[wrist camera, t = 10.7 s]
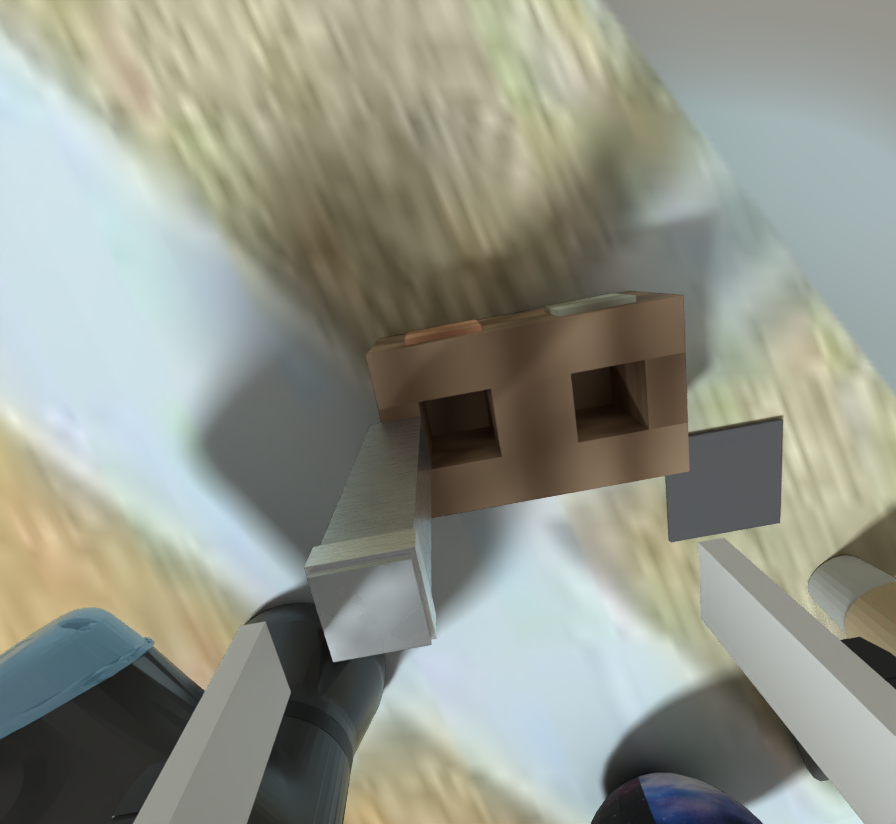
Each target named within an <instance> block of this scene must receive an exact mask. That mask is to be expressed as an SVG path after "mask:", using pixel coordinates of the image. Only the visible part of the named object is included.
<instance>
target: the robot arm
mask: <svg viewBox="0 0 896 824" xmlns="http://www.w3.org/2000/svg"><path fill="white" fill-rule="evenodd" d="M698 545H699V575H700V606H701V619H702V620H703V622H704V623H705V624H706V626H707V627H708V628H709V629H710V631H711V632H712V633H713V634H714V636H715V637H716V638H717V639H718V641H719V642H720V643H721V644H722V646H723V647H724V648H725V649H726V651H727V652H728V653H729V654H730V656H731V657H732V658H733V659H734V661H735V662H736V663H737V664H738V666H739V667H740V668H741V670H742V671H743V672H744V673H745V675H746V676H747V677H748V678H749V680H750V681H751V682H752V683H753V685H754V686H755V687H756V688H757V690H758V691H759V692H760V693H761V695H762V696H763V697H764V698H765V700H766V701H767V702H768V703H769V705H770V706H771V707H772V708H773V710H774V711H775V712H776V714H777V715H778V716H779V717H780V719H781V720H782V721H783V722H784V724H785V725H786V726H787V727H788V729H789V730H790V731H791V732H792V734H793V735H794V736H795V737H796V739H797V740H798V741H799V742H800V744H801V745H802V746H803V747H804V749H805V750H806V751H807V752H808V754H809V755H810V756H811V757H812V759H813V760H814V761H815V763H816V764H817V765H818V766H819V768H820V769H821V770H822V771H823V773H824V774H825V775H826V776H827V778H828V779H829V780H830V781H831V783H832V784H833V785H834V786H835V788H836V789H837V790H838V791H839V793H840V794H841V795H842V796H843V798H844V799H845V800H846V801H847V803H848V804H849V805H850V807H851V808H852V809H853V810H854V812H855V813H856V814H857V815H858V817H859V818H860V819H861V820H862V822H863V823H864V824H896V657H895V656H894V655H893V654H892V653H890V652H888V651H886V650H885V649H883V648H881V647H879V646H877V645H875V644H873V643H871V642H869V641H867V640H865V639H864V638H862V637H855V638H849V639H844V640H839V639H838V638H837V637H836V636H835V635H833V634H832V633H831V632H830V631H829V630H828V629H827V628H826V627H824V626H823V625H822V624H821V623H820V622H819V621H818V620H816V619H815V618H814V617H813V616H812V615H811V614H810V613H809V612H807V611H806V610H805V609H804V608H803V607H802V606H801V605H799V604H798V603H797V602H796V601H795V600H794V599H793V598H792V597H790V596H789V595H788V594H787V593H786V592H785V591H784V590H783V589H781V588H780V587H779V586H778V585H777V584H776V583H775V582H773V581H772V580H771V579H770V578H769V577H768V576H767V575H766V574H764V573H763V572H762V571H761V570H760V569H759V568H758V567H756V566H755V565H754V564H753V563H752V562H751V561H750V560H749V559H747V558H746V557H745V556H744V555H743V554H742V553H741V552H740V551H738V550H737V549H736V548H735V547H734V546H733V545H732V544H730V543H729V542H728V541H727V540H726V539H725V538H720V539H715V540H710V541H704V542H699V543H698ZM154 643H155V642H154V641H153V640H152V639H151V638H148V637H145V638H143V637H142V636H141V635H139V634H138V633H137V632H135V631H134V630H133V629H131V628H130V627H129V626H127V625H126V624H125V623H123V622H122V621H121V620H119V619H118V618H117V617H115V616H114V615H112V614H111V613H109V612H108V611H106V610H103V609H99V608H82V609H77V610H74V611H71V612H68V613H66V614H64V615H62V616H60V617H59V618H57V619H55V620H53V621H52V622H50V623H49V624H47V625H45V626H44V627H42V628H41V629H39V630H37V631H36V632H34V633H33V634H31V635H30V636H28V637H27V638H25V639H23V640H22V641H20V642H19V643H17V644H16V645H14V646H13V647H11V648H10V649H8V650H7V651H5V652H4V653H2V654H1V655H0V824H343V821H344V814H345V807H346V801H347V794H348V787H349V780H350V773H351V767H352V762H353V757H354V754H355V752H356V750H357V749H358V747H359V745H360V743H361V741H362V739H363V737H364V735H365V733H366V731H367V729H368V727H369V725H370V723H371V721H372V719H373V717H374V715H375V713H376V711H377V709H378V707H379V704H380V701H381V698H382V693H383V686H384V678H385V660H384V656H383V653H382V654H377V655H371V656H366V657H360V658H354V659H349V660H343V661H338V662H333V660H332V657H331V653H330V650H329V647H328V644H327V641H326V638H325V635H324V631H323V628H322V625H321V622H320V619H319V616H318V612H317V609H316V606H315V604H305V603H301V604H289V605H283V606H279V607H275V608H272V609H270V610H267V611H265V612H263V613H261V614H259V615H257V616H256V617H254V618H253V619H252V620H250V621H249V622H248V623H247V624H246V625H243V626H240V628H239V630H238V632H237V633H236V635H235V637H234V639H233V641H232V643H231V644H230V646H229V648H228V650H227V652H226V654H225V655H224V657H223V659H222V661H221V663H220V665H219V667H218V668H217V670H216V672H215V674H214V676H213V678H212V679H211V681H210V683H209V685H208V687H207V689H206V690H205V691H204V690H203V689H202V688H201V687H200V686H198V685H197V684H196V683H195V682H194V681H192V680H191V679H190V678H189V677H188V676H186V675H185V674H184V673H183V672H182V671H181V670H180V669H178V668H177V667H176V666H175V665H174V664H173V663H172V662H170V661H169V660H168V659H167V658H166V657H165V656H164V655H162V654H161V653H160V652H159V651H158V650H157V649H156V648H154V647H153V645H154Z"/></svg>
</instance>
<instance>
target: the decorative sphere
mask: <svg viewBox="0 0 896 824" xmlns="http://www.w3.org/2000/svg"><path fill="white" fill-rule="evenodd" d="M591 824H763V823H762V822H761V821H760V820H759V819H758V818H757V817H756V816H755V815H753V814H752V813H751V812H750V811H749V810H748V809H747V808H746V807H744V806H743V805H742V804H740V803H739V802H737V801H736V800H734V799H733V798H731V797H730V796H728V795H727V794H725V793H724V792H722V791H720V790H719V789H717V788H716V787H714V786H712V785H710V784H708V783H706V782H704V781H702V780H699V779H695V778H691V777H687V776H683V775H679V774H675V773H652V774H647V775H642V776H638V777H636V778H634V779H632V780H629V781H627V782H625V783H623V784H621V785H620V786H619V787H618V788H616V789H615V790H614V791H613V792H611V793H610V794H609V796H608V797H607V798H606V799H605V801H604V802H603V804H602V805H601V806H600V808H599V809H598V811H597V812H596V814H595V816H594V818H593V820H592V822H591Z"/></svg>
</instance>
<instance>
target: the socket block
mask: <svg viewBox="0 0 896 824" xmlns="http://www.w3.org/2000/svg"><path fill="white" fill-rule="evenodd" d="M365 356H366V360H367V364H368V368H369V373H370V377H371V381H372V385H373V389H374V393H375V398H376V402H377V406H378V410H379V414H380V419H381V423H384V422H389V421H394V420H400V419H405V418H410V417H416V416H421V417H422V422H423V427H424V431H425V436H426V441H427V446H428V450H429V455H430V460H431V518H435V517H441V516H446V515H452V514H457V513H463V512H468V511H474V510H479V509H485V508H490V507H496V506H501V505H507V504H512V503H518V502H523V501H529V500H534V499H540V498H545V497H551V496H556V495H562V494H567V493H573V492H578V491H584V490H589V489H595V488H600V487H606V486H612V485H617V484H623V483H628V482H634V481H639V480H645V479H650V478H656V477H661V476H667V475H672V474H678V473H683V472H689V471H690V468H689V440H688V412H687V384H686V356H685V328H684V300H683V295H676V294H663V293H650V292H637V291H627V292H622V293H617V294H615V293H611V294H606V295H600V296H595V297H590V298H585V299H579V300H574V301H569V302H564V303H558V304H553V305H548V306H544V307H543V308H538V309H533V310H528V311H522V312H517V313H512V314H507V315H501V316H496V317H491V318H485V319H480V320H476V319H474V320H469V321H464V322H459V323H453V324H448V325H443V326H438V327H432V328H427V329H422V330H417V331H411V332H407V334H401V335H396V336H391V337H386V338H380V339H379V340H378V341H377V342H376V344H375V345H374V346H373V347H372V348H371V349H370V351H369V352H368V353H367V354H366V355H365Z"/></svg>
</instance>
